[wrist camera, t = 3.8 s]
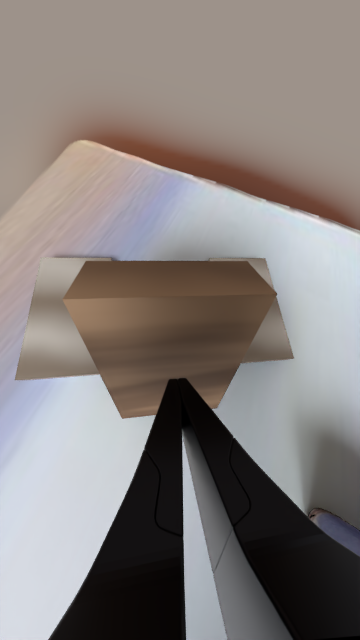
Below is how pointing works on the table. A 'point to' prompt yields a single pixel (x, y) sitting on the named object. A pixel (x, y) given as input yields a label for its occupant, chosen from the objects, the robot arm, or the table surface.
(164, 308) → the walnut plank
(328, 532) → the flask
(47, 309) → the floor row
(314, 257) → the table surface
